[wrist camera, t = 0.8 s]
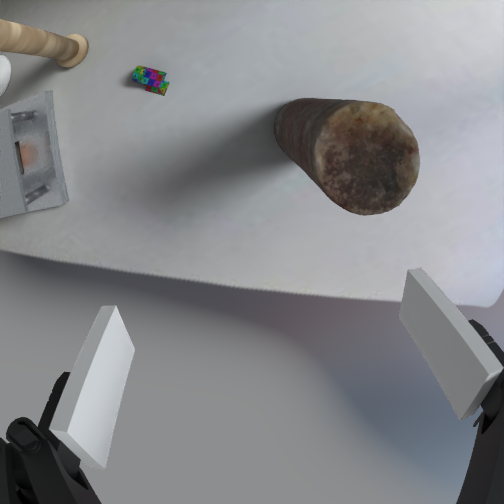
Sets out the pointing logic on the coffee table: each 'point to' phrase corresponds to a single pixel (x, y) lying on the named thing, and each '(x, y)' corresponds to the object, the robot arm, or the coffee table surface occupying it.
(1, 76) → the coaster
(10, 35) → the turned wooden spindle
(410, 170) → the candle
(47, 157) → the grey square frame
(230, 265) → the coffee table surface
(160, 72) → the multicolour small angular block
